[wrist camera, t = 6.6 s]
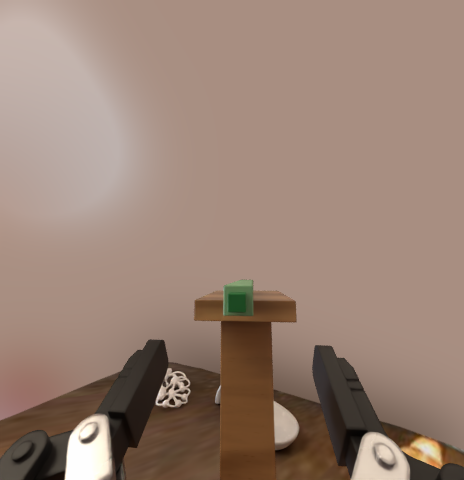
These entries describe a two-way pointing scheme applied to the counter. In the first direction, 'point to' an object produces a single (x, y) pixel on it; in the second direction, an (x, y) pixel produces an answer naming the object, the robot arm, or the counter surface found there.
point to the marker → (238, 298)
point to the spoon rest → (279, 424)
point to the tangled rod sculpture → (171, 394)
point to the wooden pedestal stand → (247, 383)
